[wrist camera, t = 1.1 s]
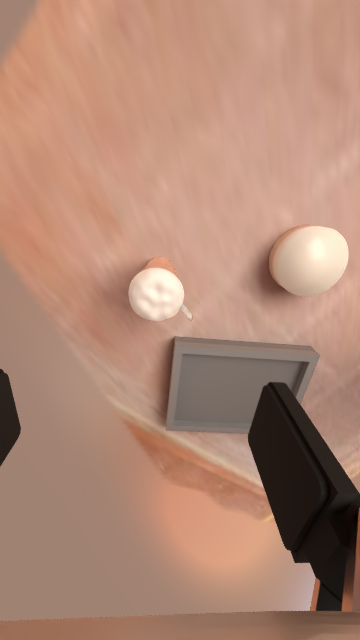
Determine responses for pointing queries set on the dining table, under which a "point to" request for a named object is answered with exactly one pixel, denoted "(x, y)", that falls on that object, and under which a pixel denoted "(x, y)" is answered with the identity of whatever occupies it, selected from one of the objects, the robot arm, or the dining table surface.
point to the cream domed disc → (308, 259)
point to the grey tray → (230, 381)
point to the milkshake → (157, 291)
